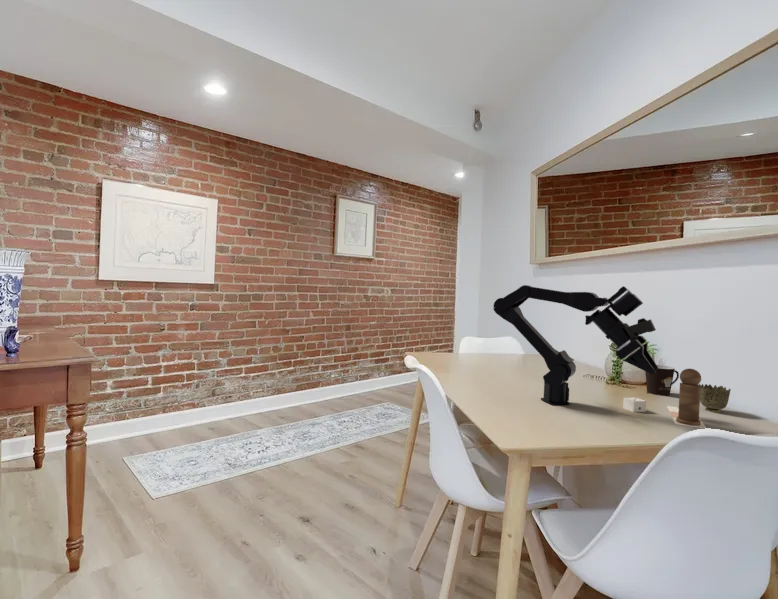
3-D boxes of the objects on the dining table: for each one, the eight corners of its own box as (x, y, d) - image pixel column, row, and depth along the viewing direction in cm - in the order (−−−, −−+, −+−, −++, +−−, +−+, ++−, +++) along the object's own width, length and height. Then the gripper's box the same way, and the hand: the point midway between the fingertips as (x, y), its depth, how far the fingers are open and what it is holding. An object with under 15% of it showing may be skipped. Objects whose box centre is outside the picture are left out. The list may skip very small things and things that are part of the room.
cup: (734, 418, 120) (736, 390, 119) (705, 416, 121) (707, 388, 121) (719, 411, 127) (721, 384, 127) (692, 409, 128) (693, 382, 128)
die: (633, 415, 119) (633, 401, 119) (623, 411, 123) (623, 397, 123) (645, 415, 120) (646, 401, 120) (635, 411, 124) (635, 397, 124)
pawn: (681, 424, 109) (684, 369, 109) (672, 418, 114) (675, 366, 114) (704, 426, 107) (707, 371, 107) (694, 420, 113) (697, 367, 112)
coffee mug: (648, 397, 141) (650, 367, 141) (639, 391, 149) (641, 363, 149) (688, 401, 138) (689, 370, 138) (676, 394, 147) (678, 366, 147)
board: (709, 432, 106) (710, 429, 106) (671, 426, 109) (671, 423, 109) (696, 412, 124) (696, 409, 124) (664, 408, 128) (664, 405, 128)
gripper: (632, 308, 110) (681, 356, 104) (640, 308, 125) (682, 349, 119) (597, 335, 115) (642, 383, 109) (608, 331, 130) (648, 373, 124)
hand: (655, 371), depth 115 cm, fingers open, 9 cm apart
